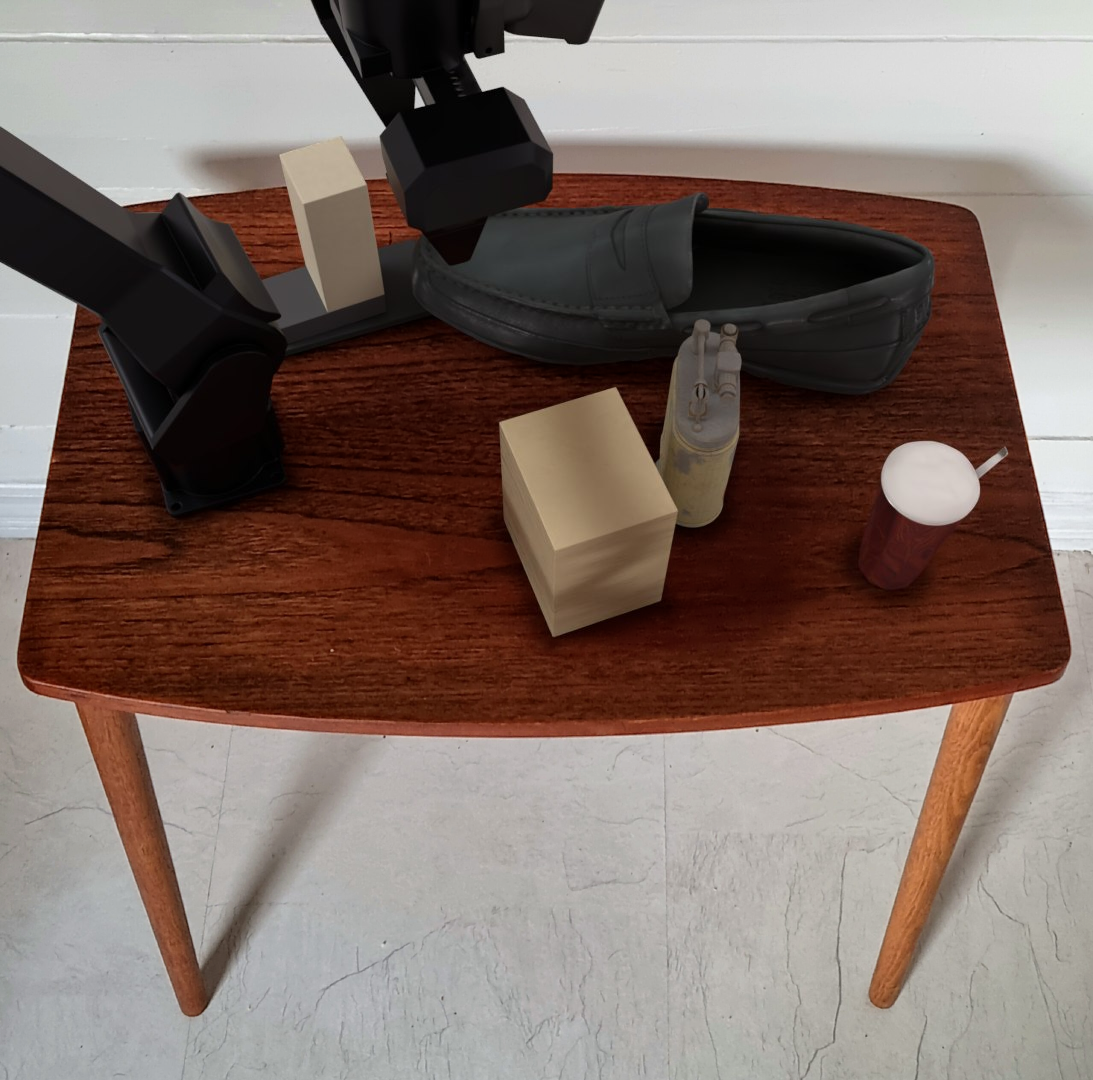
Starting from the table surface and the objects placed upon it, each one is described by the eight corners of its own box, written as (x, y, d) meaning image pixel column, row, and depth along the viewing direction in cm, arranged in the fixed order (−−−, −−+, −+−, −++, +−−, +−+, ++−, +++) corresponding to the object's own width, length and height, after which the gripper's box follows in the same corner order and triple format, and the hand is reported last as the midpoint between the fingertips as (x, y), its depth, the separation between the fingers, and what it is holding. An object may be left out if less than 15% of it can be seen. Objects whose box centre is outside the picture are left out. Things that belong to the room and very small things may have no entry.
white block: (387, 311, 72) (367, 184, 63) (282, 346, 71) (246, 221, 62) (364, 265, 74) (341, 135, 65) (261, 298, 73) (224, 170, 64)
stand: (552, 637, 62) (555, 550, 54) (503, 519, 66) (498, 421, 58) (661, 601, 63) (678, 510, 55) (606, 486, 67) (616, 386, 59)
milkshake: (958, 593, 63) (1024, 491, 55) (858, 607, 63) (909, 507, 54) (931, 519, 66) (990, 410, 57) (834, 532, 65) (880, 424, 57)
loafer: (427, 245, 75) (412, 113, 67) (899, 278, 74) (948, 147, 65) (403, 378, 70) (384, 254, 61) (910, 415, 69) (965, 294, 60)
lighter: (722, 531, 65) (750, 422, 57) (651, 526, 65) (668, 417, 57) (722, 423, 69) (749, 304, 60) (655, 418, 69) (672, 300, 60)
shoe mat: (246, 367, 71) (245, 362, 70) (224, 295, 73) (222, 289, 73) (444, 312, 73) (443, 306, 72) (414, 244, 75) (414, 238, 75)
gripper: (692, -11, 43) (655, 288, 57) (514, -274, 52) (518, 39, 65) (390, 61, 41) (427, 353, 55) (258, -225, 50) (317, 88, 63)
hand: (428, 195), depth 60 cm, fingers open, 9 cm apart
